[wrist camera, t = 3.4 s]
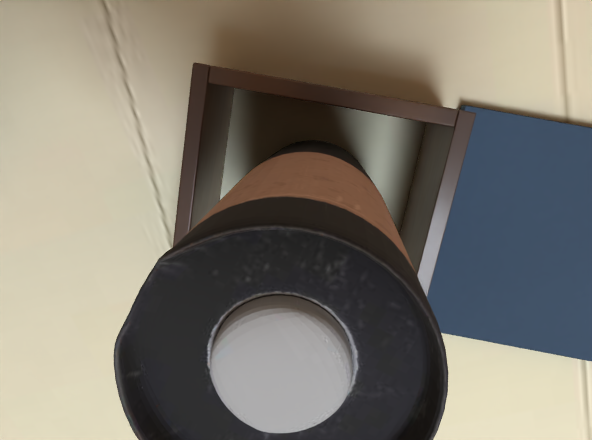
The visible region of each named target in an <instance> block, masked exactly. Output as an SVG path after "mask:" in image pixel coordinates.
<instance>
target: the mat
mask: <svg viewBox="0 0 592 440" xmlns="http://www.w3.org/2000/svg"><path fill="white" fill-rule="evenodd" d="M460 110H463V111H469V112H474V113H476V116H475V120H474V124H473V128H472V131H471V135H470V139H469V143H468V146H467V150H466V154H465V158H464V161H463V165H462V169H461V173H460V176H459V180H458V184H457V188H456V191H455V195H454V199H453V202H452V206H451V210H450V214H449V217H448V221H447V225H446V229H445V232H444V236H443V240H442V244H441V247H440V251H439V255H438V259H437V262H436V266H435V270H434V273H433V277H432V281H431V285H430V288H429V292H428V296H427V299H428V302H429V304H430V306H431V308H432V311H433V313H434V315H435V317H436V320H437V322H438V325H439V328H440V332H441V333H446V334H451V335H456V336H462V337H467V338H472V339H477V340H483V341H488V342H493V343H498V344H503V345H509V346H514V347H519V348H524V349H530V350H535V351H540V352H545V353H551V354H556V355H561V356H566V357H571V358H577V359H582V360H587V361H592V128H590V127H585V126H579V125H573V124H568V123H562V122H557V121H551V120H545V119H540V118H534V117H529V116H523V115H517V114H512V113H506V112H501V111H495V110H489V109H484V108H478V107H473V106H467V105H462V106H461V108H460Z"/></svg>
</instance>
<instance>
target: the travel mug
mask: <svg viewBox="0 0 592 440" xmlns="http://www.w3.org/2000/svg"><path fill="white" fill-rule="evenodd" d="M114 369H115V379H116V384H117V388H118V393H119V397H120V400H121V403H122V406H123V409H124V412H125V415H126V417H127V419H128V421H129V423H130V426H131V428H132V430H133V432H134V433H135V435H136V436H137V438H138V439H139V440H433V438H434V436H435V434H436V433H437V430H438V428H439V425H440V422H441V419H442V416H443V413H444V409H445V403H446V398H447V392H448V366H447V358H446V351H445V346H444V342H443V339H442V335H441V332H440V328H439V325H438V322H437V320H436V317H435V315H434V313H433V311H432V308H431V306H430V304H429V302H428V299H427V297H426V295H425V293H424V290H423V288H422V286H421V284H420V281H419V279H418V277H417V274H416V272H415V270H414V268H413V265H412V263H411V261H410V259H409V256H408V254H407V252H406V250H405V247H404V245H403V243H402V240H401V238H400V236H399V234H398V231H397V229H396V227H395V225H394V222H393V220H392V218H391V216H390V213H389V211H388V209H387V207H386V204H385V202H384V200H383V198H382V196H381V194H380V193H379V191H378V189H377V188H376V186H375V185H374V183H373V182H372V180H371V179H370V177H369V176H368V175H367V173H366V172H365V170H364V169H363V167H362V166H361V165H360V163H359V162H358V161H357V160H356V159H355V158H354V157H353V156H352V155H351V154H350V153H348V152H347V151H346V150H344V149H343V148H341V147H339V146H337V145H334V144H331V143H329V142H324V141H315V140H311V141H302V142H297V143H294V144H291V145H289V146H287V147H285V148H283V149H281V150H280V151H278V152H277V153H275V154H274V155H272V156H271V157H269V158H268V159H266V160H265V161H264V162H262V163H261V164H259V165H258V166H256V167H255V168H254V169H252V170H251V171H250V172H249V173H248V174H247V175H245V176H244V177H243V178H242V179H241V180H240V181H239V182H238V183H237V184H236V185H235V186H234V187H233V188H232V189H231V190H230V191H229V192H228V193H227V194H226V195H225V196H224V197H223V198H222V199H221V200H220V201H219V202H218V203H217V204H216V205H215V206H214V207H213V208H212V209H211V210H210V211H209V212H208V213H207V214H206V215H205V216H204V217H203V218H202V219H201V220H200V221H199V222H198V223H197V224H196V225H195V226H194V227H193V228H192V229H191V230H190V231H189V232H188V233H187V234H186V235H185V236H184V237H183V238H182V239H181V240H180V241H179V242H178V243H177V244H176V245H175V246H174V247H173V248H172V249H170V250H169V251H167V252H166V253H165V254H164V255H163V256H161V257H160V258H159V259H158V261H157V263H156V264H155V266H154V268H153V269H152V271H151V272H150V274H149V275H148V277H147V279H146V281H145V282H144V284H143V285H142V287H141V289H140V291H139V293H138V295H137V297H136V299H135V301H134V303H133V305H132V308H131V310H130V312H129V314H128V316H127V319H126V321H125V322H124V324H123V326H122V328H121V330H120V332H119V334H118V336H117V339H116V343H115V348H114Z"/></svg>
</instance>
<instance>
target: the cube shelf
mask: <svg viewBox="0 0 592 440" xmlns="http://www.w3.org/2000/svg"><path fill="white" fill-rule="evenodd" d="M234 88H238V89H244V90H250V91H255V92H261V93H266V94H272V95H277V96H283V97H288V98H294V99H300V100H305V101H311V102H316V103H322V104H327V105H333V106H338V107H344V108H350V109H355V110H361V111H366V112H372V113H377V114H383V115H388V116H394V117H400V118H405V119H411V120H416V121H422V122H427V124H426V128H425V132H424V136H423V140H422V145H421V149H420V153H419V157H418V161H417V165H416V169H415V174H414V178H413V182H412V186H411V190H410V194H409V198H408V203H407V207H406V211H405V215H404V219H403V223H402V227H401V231H400V238H401V240H402V243H403V245H404V247H405V250H406V252H407V254H408V256H409V259H410V261H411V263H412V265H413V268H414V270H415V272H416V274H417V277H418V279H419V281H420V284H421V286H422V288H423V290H424V293H425V295H426V297H427V296H428V292H429V288H430V285H431V281H432V277H433V273H434V270H435V266H436V262H437V259H438V255H439V251H440V247H441V244H442V240H443V236H444V232H445V229H446V225H447V221H448V217H449V214H450V210H451V206H452V202H453V199H454V195H455V191H456V188H457V184H458V180H459V176H460V173H461V169H462V165H463V161H464V158H465V154H466V150H467V146H468V143H469V139H470V135H471V131H472V128H473V124H474V120H475V116H476V113H474V112H469V111H463V110H457V109H452V108H446V107H441V106H435V105H429V104H424V103H418V102H413V101H407V100H401V99H396V98H390V97H385V96H379V95H373V94H368V93H362V92H357V91H351V90H346V89H340V88H334V87H329V86H323V85H318V84H312V83H306V82H301V81H295V80H290V79H284V78H278V77H273V76H267V75H262V74H256V73H250V72H245V71H239V70H234V69H228V68H223V67H217V66H210V65H206V64H200V63H193V68H192V77H191V87H190V96H189V105H188V114H187V123H186V132H185V141H184V150H183V160H182V169H181V178H180V187H179V196H178V205H177V214H176V223H175V233H174V242H173V247H174V246H175V245H176V244H177V243H178V242H179V241H180V240H181V239H182V238H183V237H184V236H185V235H186V234H187V233H188V232H189V231H190V230H191V229H192V228H193V227H194V226H195V225H196V224H197V223H198V222H199V221H200V220H201V219H202V218H203V217H204V216H205V215H206V214H207V213H208V212H209V211H210V210H211V209H212V208H213V207H214V206H215V205H216V204H217V203H218V202H219V199H220V191H221V184H222V176H223V169H224V161H225V154H226V146H227V139H228V131H229V124H230V116H231V109H232V101H233V94H234Z"/></svg>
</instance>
